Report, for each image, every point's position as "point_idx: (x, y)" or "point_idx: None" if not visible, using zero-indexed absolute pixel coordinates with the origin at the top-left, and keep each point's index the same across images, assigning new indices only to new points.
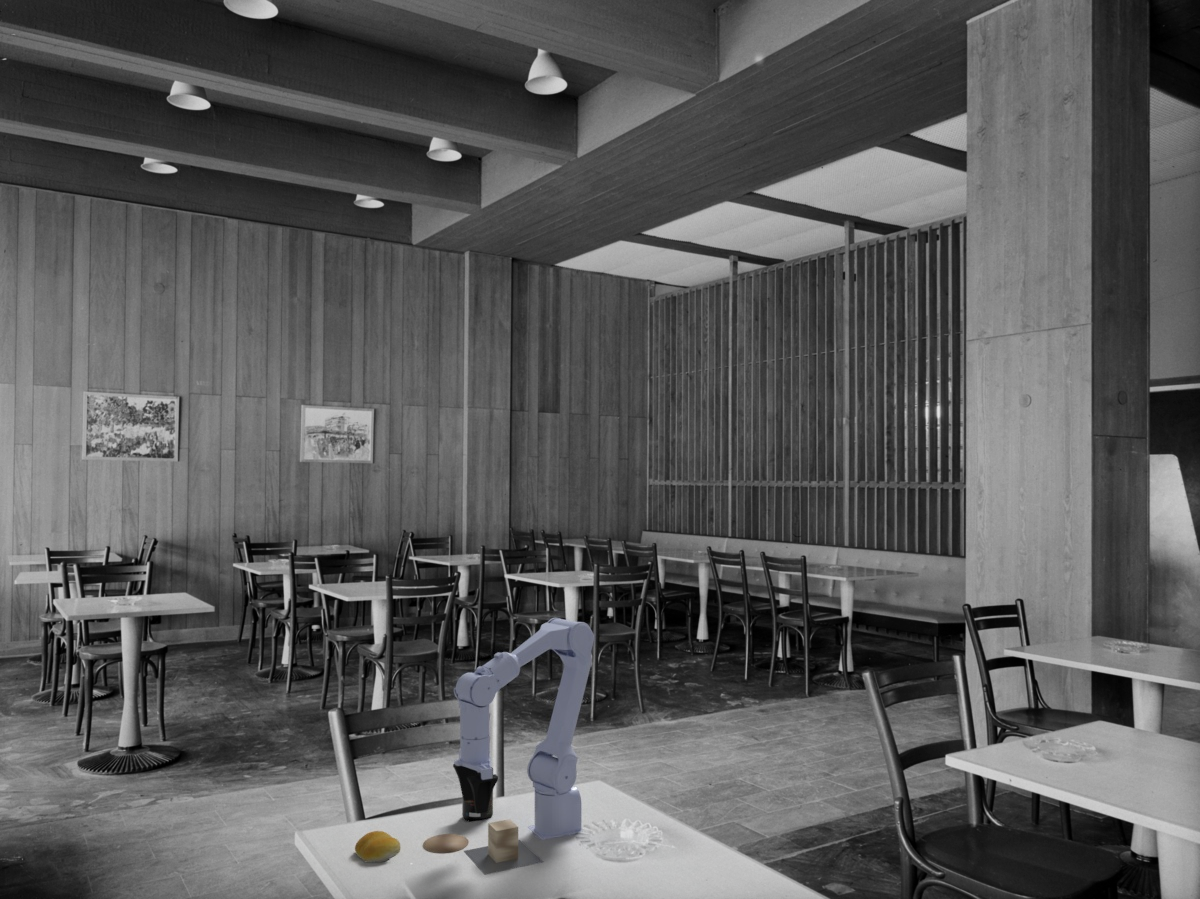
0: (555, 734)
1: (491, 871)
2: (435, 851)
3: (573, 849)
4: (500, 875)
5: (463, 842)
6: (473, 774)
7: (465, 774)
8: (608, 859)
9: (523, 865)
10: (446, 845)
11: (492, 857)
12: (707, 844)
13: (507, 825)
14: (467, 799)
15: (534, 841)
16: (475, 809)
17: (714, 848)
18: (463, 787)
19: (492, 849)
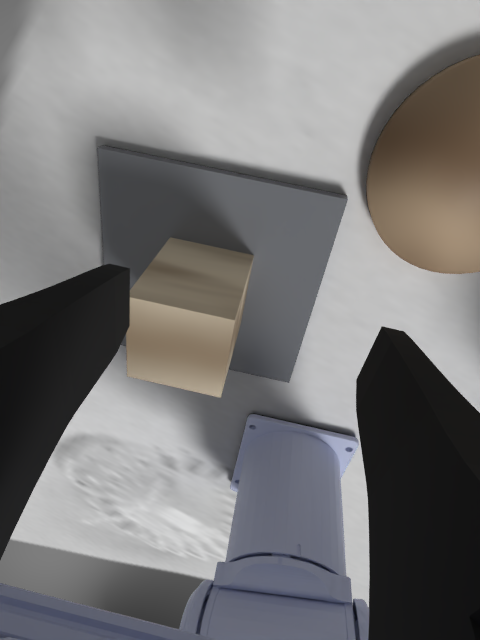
0: None
1: (110, 183)
2: (438, 78)
3: (166, 428)
4: (98, 202)
5: (412, 239)
6: (390, 548)
7: (429, 517)
8: (79, 438)
9: None
10: (451, 164)
11: (208, 247)
12: (71, 546)
13: (162, 358)
14: (375, 347)
15: (270, 403)
16: (112, 272)
17: (52, 541)
18: (408, 392)
19: (202, 260)
